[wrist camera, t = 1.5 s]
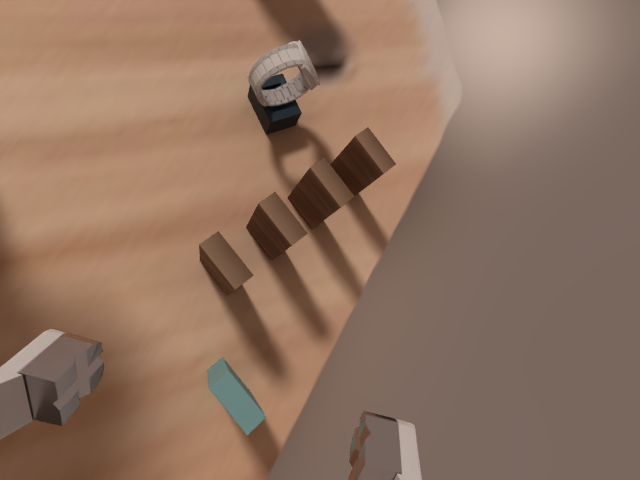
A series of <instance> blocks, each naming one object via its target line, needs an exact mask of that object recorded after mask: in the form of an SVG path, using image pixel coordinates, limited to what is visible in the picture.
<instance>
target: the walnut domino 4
mask: <svg viewBox="0 0 640 480" xmlns="http://www.w3.org/2000/svg"><path fill="white" fill-rule="evenodd" d="M395 164H396V163H395V162H394V161H393V159H392V158H391V157H390V155H389V154H388V153H387V151H386V150H385V149H384V148H383V146H382V145H381V144H380V142H379V141H378V140H377V138H376V137H375V136H374V134H373V133H372V132H371V130H370V129H369V128H366V129H365V130H363V131H362V132H360V133H359V134H358V135H356V136H355V137H354V138H353V139H352V140H351V142H350V143H349V144H348V145H347V146H346V147H345V148H344V150H343V151H342V152H341V153H340V154H339V155H338V156H337V158H336V159H335V160H334V161H333V162H332V163H331V166H332V168H333V169H334V170H335V172H336V173H337V174H338V176H339V177H340V178H341V179H342V181H343V182H344V183H345V185H346V186H347V187H348V189H349V190H350V191H351V192H352V194H353V195H354V196H355V195H356V194H358V193H359V192H360V191H362V190H363V189H364V188H366V187H367V186H368V185H370V184H371V183H372V182H373V181H375V180H376V179H377V178H379V177H380V176H381V175H383V174H384V173H385V172H386V171H388V170H389V169H390V168H392V167H393V166H394V165H395Z"/></svg>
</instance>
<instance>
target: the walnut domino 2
mask: <svg viewBox="0 0 640 480" xmlns="http://www.w3.org/2000/svg"><path fill="white" fill-rule="evenodd" d="M246 228H247V229H248V230H249V231H250V233H251V234H252V235H253V237H254V238H255V239H256V240H257V242H258V243H259V244H260V245H261V247H262V248H263V249H264V251H265V252H266V253H267V254H268V256H269V257H270V258H271V259H272V260H273V259H275V258H276V257H277V256H279V255H280V254H281V253H283V252H284V251H285V250H287V249H288V248H289V247H291V246H292V245H293V244H295V243H296V242H297V241H298V240H300V239H301V238H302V237H303V236H305V235H306V234H307V232H306V231H305V229H304V228H303V227H302V226H301V224H300V223H299V222H298V220H297V219H296V218H295V217H294V215H293V214H292V213H291V211H290V210H289V209H288V208H287V206H286V205H285V204H284V202H283V201H282V200H281V199H280V197H279V196H278V195H277V194H276V192H274V193H273V194H271V195H270V196H268V197H267V198H266V199H264V200H263V201H261V202H260V203H259V204H258V206H257V207H256V209H255V211H254V213H253V215H252V217H251V219H250V221H249V223H248V225H247V227H246Z"/></svg>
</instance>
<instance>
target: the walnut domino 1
mask: <svg viewBox="0 0 640 480" xmlns="http://www.w3.org/2000/svg"><path fill="white" fill-rule="evenodd" d="M199 249H200V261H201V262H202V264H203V265H204V266H205V267H206V269H207V270H208V271H209V272H210V274H211V275H212V276H213V277H214V279H215V280H216V281H217V282H218V284H219V285H220V286H221V287H222V289H223V290H224V291H225V292H226V294H227V295H228V294H230V293H231V292H233V291H234V290H236V289H237V288H238V287H240V286H241V285H242V284H243V283H245V282H246V281H247V280H248V279H250V278H251V277H252V276H254V275H253V274H252V273H251V272H250V270H249V269H248V268H247V267H246V265H245V264H244V263H243V262H242V260H241V259H240V258H239V257H238V255H237V254H236V253H235V252H234V250H233V249H232V248H231V246H230V245H229V244H228V243H227V241H226V240H225V239H224V238H223V236H222V235H221V234H220V233H219V231H218V232H217V233H215V234H214V235H212V236H211V237H210V238H208V239H207V240H205V241H204V242H202V243H201V244H199Z"/></svg>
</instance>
